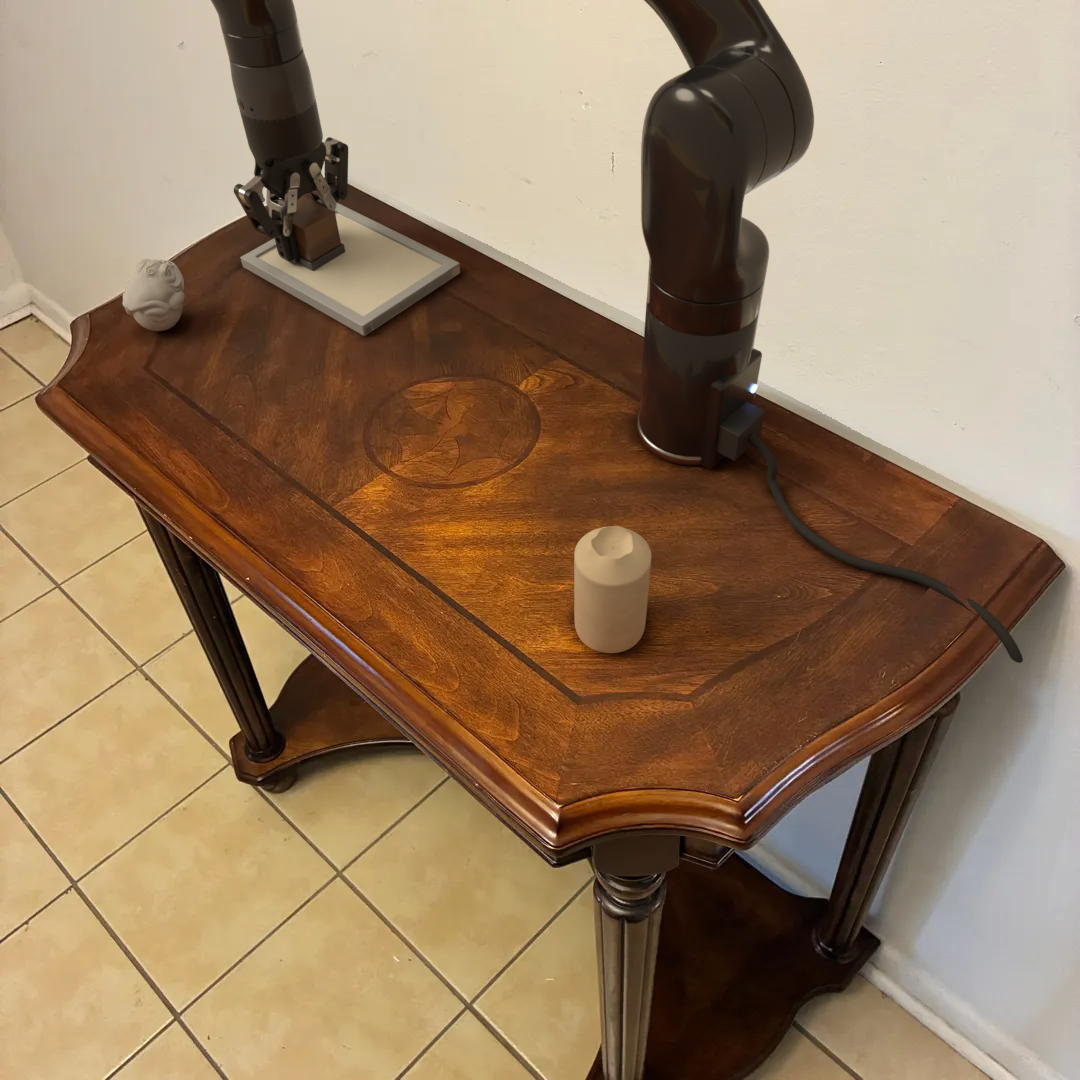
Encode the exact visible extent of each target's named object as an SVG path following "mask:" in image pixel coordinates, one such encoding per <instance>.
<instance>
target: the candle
mask: <svg viewBox="0 0 1080 1080" xmlns="http://www.w3.org/2000/svg"><path fill="white" fill-rule="evenodd" d="M573 553H574V555H573V556H574V557H573V558H574V559H573V561H574V562H573V563H574V565H573V568H574V569H573V573H574V574H573V578H574V579H573V581H574V582H573V583H574V586H573V588H574V589H573V592H574V593H573V595H574V596H573V597H574V598H573V599H574V600H573V601H574V604H573V605H574V606H573V607H574V609H573V610H574V614H573V615H574V619H573V620H574V628H575V632H576V634H577V636H578V638H579V639H580V641H581V642H582V643H583V644H584V645H585V646H587V647H588V648H590V649H591V650H594V651H595V652H598V653H605V654H618V653H622V652H626V651H628V650H630V649H631V648H633V647H634V646H635V645H637V644H638V643H639V641H641V639H642V637H643V635H644V632H645V630H646V629H645V628H646V622H647V611H648V601H649V590H650V581H651V580H650V578H651V569H652V551H651V547H650V545H649V543H648V542H647V541H646V540H645V539H644V537H643V536H641V535H640V534H639V533H638V532H635V531H634V530H632V529H629V528H626V527H622V526H620V525H613V526H612V525H611V526H602V527H598V528H595V529H593V530H591V531H589V532H587V533H585V534H584V535H583V536H582V537H580V539H579V540H578V542H577V543H576V546H575V549H574V552H573Z"/></svg>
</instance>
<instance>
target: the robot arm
mask: <svg viewBox="0 0 1080 1080" xmlns="http://www.w3.org/2000/svg"><path fill="white" fill-rule="evenodd" d="M643 1H644V2H645V3H646V4H647V6H648V7H650V9H652V11H653V12H654V13H655V14H656V16H658V18H659V19H660V20H661V22H663V25H665V27H666V29H667V30H668V32H669V33H670V34H671V37H672V38H673V40H674V42H675V43H676V45H677V46H678V49H679V50H680V52H681V54H682V56H683V58H684V59H685V62H686V64H687V66H688V67H689V69H688V70H687V71H685V72H682V73H680V74H678V75H676V76H674V77H672V78H670V79H669V80H667V81H665V82H664V83H663V84H662V85H660V86H659V87H658V88H657V90H656V91H655V92H654V93H653V95H652V97H651V99H650V100H649V103H648V106H647V108H646V111H645V115H644V118H643V124H642V130H641V131H642V132H641V143H640V222H641V232H642V235H643V239H644V243H645V246H646V250H647V252H648V274H647V291H646V302H645V315H644V316H645V319H644V331H643V347H642V349H643V350H642V361H641V362H642V363H641V380H640V394H639V412H638V415H637V423H636V424H637V426H636V427H637V429H636V431H637V435H638V438H639V440H640V442H641V443H642V445H643V446H644V447H645V448H646V450H648V451H649V452H650V453H652V454H653V455H654V456H656V457H658V458H660V459H662V460H664V461H667V462H670V463H673V464H678V465H686V466H698V465H699V466H702V467H704V468H706V469H708V470H713V469H714V468H715V467H716V466H717V465H719V464H720V462H721V461H723V459H725V457H726V458H728V459H730V460H731V461H734V462H736V461H737V460H738V459H739V458H740V457H741V456H742V455H743V454H744V453H745V452H746V451H747V450H748V449H749V448H750V447H751V446H752V447H753V449H755V451H757V452H758V453H759V455H761V457H762V458H763V459H764V461H765V463H766V465H767V474H766V481H767V485H768V487H769V490H770V492H771V495H772V497H773V499H774V501H775V502H776V503H777V505H778V506H779V508H780V509H781V511H782V512H783V513H784V515H785V517H786V519H787V520H788V522H789V523H790V524H791V526H792V527H793V528H794V530H796V531H797V532H798V534H800V536H802V537H803V538H804V539H806V541H808V542H810V543H811V544H813V545H814V546H815V547H817V548H818V549H819V550H821V551H823V552H824V553H825V554H827V555H829V556H830V557H832V558H834V559H836V560H837V561H840V562H842V563H844V564H846V565H849V566H851V567H854V568H857V569H861V570H863V571H868V572H873V573H878V574H882V575H886V576H890V577H896V578H899V579H904V580H908V581H911V582H913V583H916V584H920V585H922V586H924V587H927V588H929V589H931V590H933V591H935V592H937V593H939V594H940V595H942V596H944V597H946V598H947V599H949V600H951V601H953V602H955V603H956V604H958V605H960V606H961V607H963V608H965V609H966V610H968V611H969V612H971V613H972V614H973V615H975V616H977V615H976V614H975V613H973V612H972V611H971V610H970V609H968V608H967V607H966V606H965V605H964V604H963V603H962V602H961V601H960V600H958V599H957V598H956V597H955V596H954V595H953V594H952V593H951V592H950V591H949V590H947V587H949V588H951V589H953V590H955V591H957V592H959V591H958V590H956V589H954V588H953V587H950V586H949V585H947V584H945V583H943V582H941V581H940V580H937V579H936V578H934V577H931V576H929V575H926V574H924V573H921V572H918V571H915V570H912V569H908V568H904V567H900V566H895V565H891V564H886V563H882V562H876V561H873V560H868V559H865V558H861V557H859V556H856V555H852V554H850V553H849V552H846V551H844V550H842V549H840V548H838V547H837V546H835V545H833V544H832V543H830V542H829V541H827V540H826V539H824V538H822V537H821V536H820V535H818V534H817V533H815V532H814V531H813V530H811V529H810V528H809V527H807V525H805V524H804V523H803V522H802V521H801V520H800V519H799V518H798V517H797V516H796V515H795V513H794V512H793V510H792V509H791V507H790V506H789V504H788V503H787V501H786V499H785V496H784V495H783V493H782V489H781V488H780V486H779V483H778V481H777V475H778V464H777V461H776V458H775V457H774V455H773V454H772V452H771V451H770V449H769V448H768V447H767V446H766V445H765V444H764V443H763V441H761V439H759V438H760V437H761V436H762V430H763V426H764V420H765V414H766V410H765V409H763V408H761V407H759V406H757V405H754V403H755V398H756V391H757V389H758V381H759V375H760V370H761V365H762V359H763V353H762V352H761V350H758V349H757V348H755V341H756V336H757V329H758V323H759V317H760V313H761V307H762V305H761V304H762V301H763V295H764V289H765V284H766V278H767V272H768V266H769V259H770V245H769V240H768V238H767V235H766V234H765V233H764V232H763V230H762V229H761V228H760V227H759V226H758V224H757V225H756V224H755V222H753V221H751V220H749V219H747V218H745V217H743V207H744V201H745V196H746V195H747V194H749V193H751V192H753V191H754V190H756V189H757V188H760V187H761V186H763V185H765V184H767V183H768V182H769V181H771V180H773V179H774V178H777V177H779V176H780V175H781V174H783V173H785V172H787V171H788V170H790V169H791V168H792V167H795V165H796V164H797V163H798V162H799V161H800V160H802V158H803V157H804V156H805V154H806V153H807V151H808V149H809V147H810V145H811V142H812V139H813V135H814V128H815V127H814V126H815V113H814V105H813V100H812V96H811V92H810V89H809V87H808V83H807V81H806V79H805V76H804V74H803V71H802V70H801V68H800V65H799V64H798V62H797V60H796V58H795V56H794V54H793V53H792V51H791V49H790V48H789V46H788V45H787V43H786V42H785V39H784V38H783V37H782V35H781V33H780V32H779V31H778V29H777V27H776V26H775V24H774V23H773V21H772V19H771V17H770V16H769V14H768V13H767V11H766V10H765V8H764V7H763V5H762V3H761V1H760V0H643ZM210 2H211V4H212V6H213V7H214V9H215V11H216V14H217V15H218V19H219V25H220V29H221V34H222V37H223V40H224V45H225V48H226V52H227V56H228V60H229V66H230V67H229V68H230V74H231V76H230V77H231V81H232V85H233V90H234V94H235V98H236V103H237V106H238V109H239V114H240V117H241V121H242V125H243V129H244V132H245V136H246V141H247V144H248V148H249V150H250V153H251V154H252V157H253V158H254V170H253V175H254V176H253V177H252V178H251V179H250V180H249V181H248V182H246V184H245V185H243V184H241V183H237V184H235V185H234V187H233V194H234V195H235V197H236V199H237V201H238V203H239V204H240V206H241V208H242V209H243V211H244V213H245V215H246V216H247V218H248V220H249V222H250V223H251V225H252V227H253V228H254V230H255V231H256V232H258V233H260V234H262V235H264V236H266V237H268V238H270V239H271V240H272V239H274V238H275V242H276V246H277V249H278V253H279V255H280V257H281V258H283V259H285V260H286V261H288V262H290V263H292V264H294V265H296V264H297V263H299V262H300V256H299V251H298V247H297V243H296V239H295V235H294V233H292V226H293V215H294V214H296V210H297V200H298V199H299V198H300V197H301V196H303V197H304V195H307V194H308V195H309V197H310V199H311V201H314V202H316V203H318V204H320V205H322V206H324V207H326V208H328V209H330V210H332V211H334V212H335V209H336V203H338V202H339V201H340V200H342V201H343V200H345V199H346V198H347V196H348V194H349V193H348V192H349V191H348V189H349V188H348V187H349V183H348V182H349V145H348V144H346V143H345V142H342V141H341V140H338V139H336V138H333V137H330V136H329V137H327V138H326V139H325V140H324V141H323V139H324V133H323V128H322V123H321V118H320V114H319V107H318V105H317V104H318V103H317V99H316V94H315V88H314V83H313V79H312V73H311V69H310V65H309V63H308V60H307V58H306V54H305V51H304V47H303V42H302V36H301V32H300V27H299V21H298V16H297V12H296V7H295V4H294V0H210ZM323 168H324V175H323V173H322V171H323ZM264 188H265V189H266V198H265V197H264V194H263V190H264ZM265 202H266V206H265V204H264V203H265ZM266 207H268V210H267V208H266ZM335 216H336V215H335ZM336 221H337V220H336ZM337 226H338V225H337ZM963 598H964V597H963ZM969 598H970V597H968V599H967V598H966V599H967V600H968V602H969V603H968V604H970V606H971V607H972V608H973V609H975V611H976V612H978V614H979V616H981V618H982V619H983V620H984V621H985V622H986V623H987V624H988V625H987V624H986V623H985V622H984V621H983V620H982V619H981V618H979V619H980V620H982V621H983V622H984V623H985V624H986V625H987V626H988V627H989V628H990V629H991V630H992V632H994V634H995V635H996V636H997V638H998V639H999V640H1000V642H1001V643H1002V645H1003V646H1004V649H1005V650H1006V652H1007V654H1008V655H1009V658H1010V659H1011V660H1012V661H1013V662H1015V663H1019V664H1021V663H1023V661H1024V659H1023V655H1022V653H1021V650H1020V649H1019V647H1018V645H1017V643H1016V640H1014V638H1013V636H1012V635H1011V633H1010V632H1009V631H1008V629H1007V628H1006V627H1005V626H1004V625H1003V623H1002V622H1001V621H1000V620H999V619H998V618H997V617H996V616H995V615H994V614H993V613H991V612H990V611H989V610H988V609H987V608H985V607H984V606H982V605H981V604H979V603H977V601H975V600H974V599H972V598H970V599H969ZM966 599H965V600H966ZM971 599H972V600H971ZM974 601H975V602H974ZM966 602H967V601H966Z"/></svg>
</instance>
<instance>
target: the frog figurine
mask: <svg viewBox="0 0 1080 1080" xmlns="http://www.w3.org/2000/svg"><path fill="white" fill-rule="evenodd" d="M135 265H136V268H134V270H133V271H132V273H131V274H130V276H129V277H128V279H127V280H126V282H125V284H124V291H123V293H122V307H123V308H124V309H125V312H126V314H127V315H129V316H132V317H133V318H134V320H135V321H136V322H137V324H139V326H141V327H143V328H145V329H146V330H150V331H154V332H163V331H167V330H169V329H172V328H173V327H174V326H175V325H176V324H178V322H179V320H180V318H181V316H182V312H183V311H184V304H183V303H184V302H185V300H186V299H185V298H186V295H185V293H184V291H185V279H184V277H183V274H182V272H181V271H180V269H179V268H178V267H179V266H177V265H176V264H175V262H172V261H170V260H165V259H164V260H163V259H149V258H142V259H139V260H138V261H137V262H136V264H135Z"/></svg>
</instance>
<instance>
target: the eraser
mask: <svg viewBox="0 0 1080 1080" xmlns="http://www.w3.org/2000/svg"><path fill="white" fill-rule="evenodd" d="M292 233H294V235H295V239H296V243H297V247H298V251H299V256H300V262H299V264H300V265H302V266H304V267H306V268H308V269H310V270H312V271H314V270H316V269H318V268H319V267H321V266H323V265H324V264H326V263H328V262H329V261H331V260H333V259H334V258H336V257H338V256H339V255H341V254H343V253H344V252H345V248H344V244H342V243H341V241H340V236H339V231H338V226H337V221H336V216H335V212H334V211H332V210H330V209H328V208H326V207H324V206H322V205H320V204H318V203H316V202H314V201H313V200H312V199H309V198H307V197H306V196H304V195H303V196H301V197H300V198H299V199H298V200H297V210H296V214H294V215H293V226H292ZM276 247H277V246H276ZM277 251H278V249H277Z"/></svg>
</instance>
